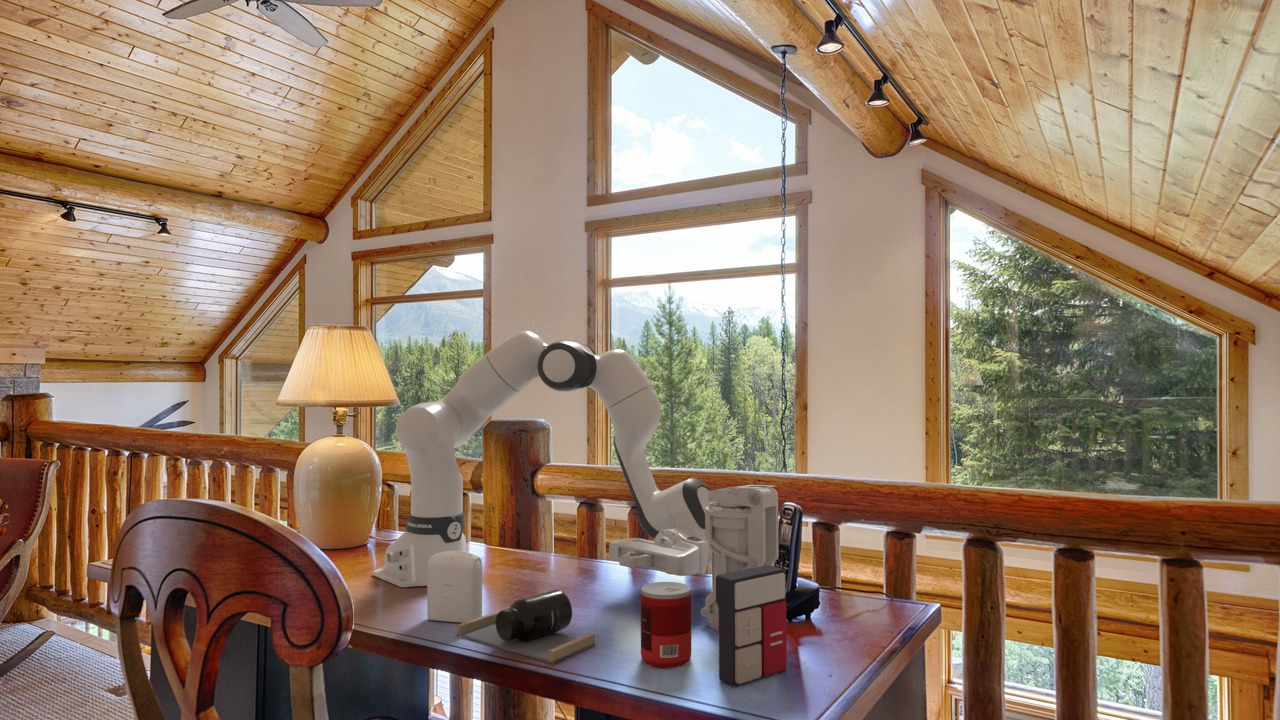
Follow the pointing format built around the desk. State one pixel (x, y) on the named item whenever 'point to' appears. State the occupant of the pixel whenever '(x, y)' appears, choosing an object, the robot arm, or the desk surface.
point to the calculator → (751, 624)
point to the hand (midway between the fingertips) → (624, 562)
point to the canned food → (666, 624)
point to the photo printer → (454, 587)
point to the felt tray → (540, 648)
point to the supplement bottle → (535, 616)
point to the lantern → (739, 534)
